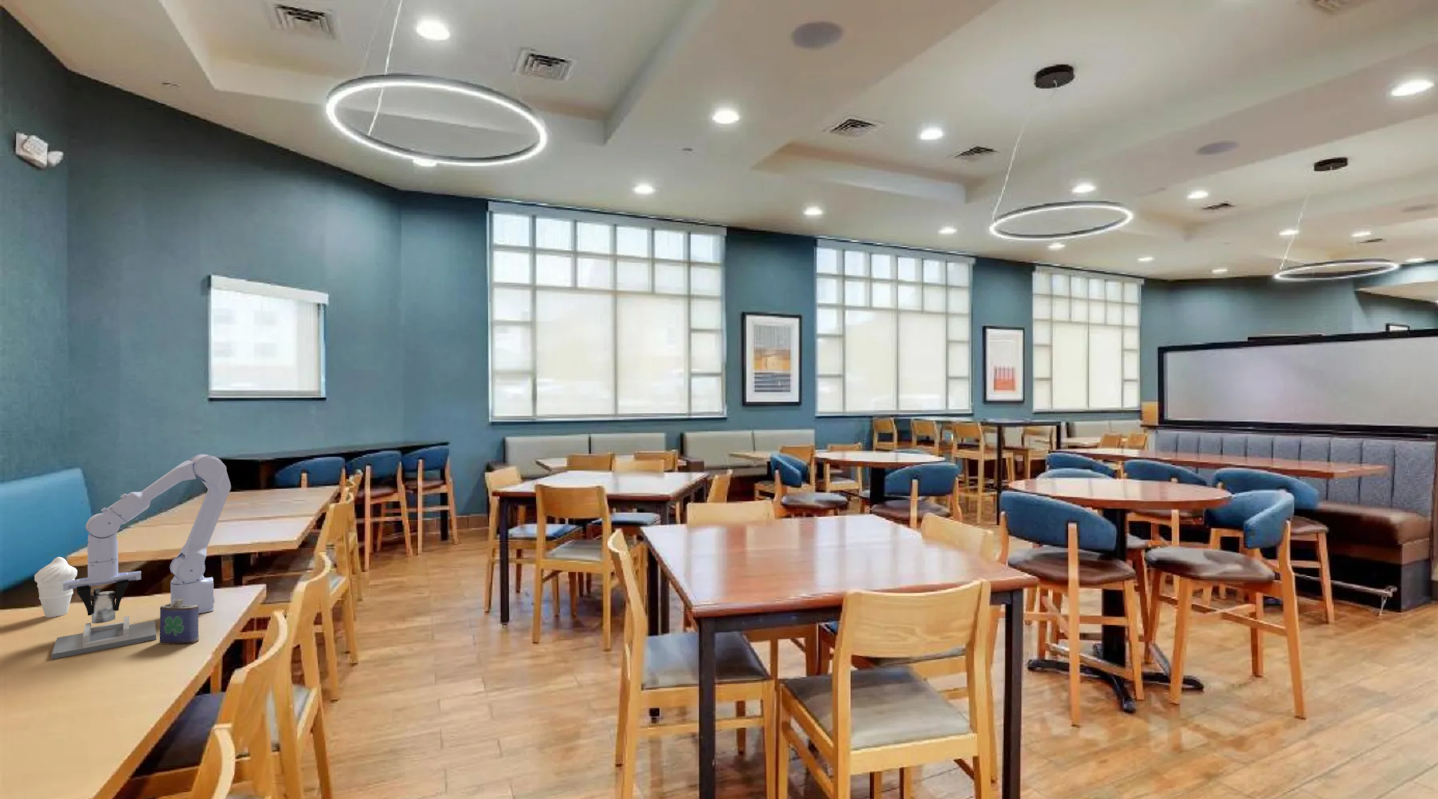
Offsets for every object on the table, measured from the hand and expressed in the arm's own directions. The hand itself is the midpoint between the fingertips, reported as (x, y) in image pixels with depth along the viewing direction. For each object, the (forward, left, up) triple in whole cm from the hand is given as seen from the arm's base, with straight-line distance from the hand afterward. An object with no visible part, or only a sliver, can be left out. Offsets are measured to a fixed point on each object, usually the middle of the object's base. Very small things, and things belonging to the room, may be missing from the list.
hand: (103, 612), depth 166 cm
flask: (-14, +25, -5) cm, 29 cm away
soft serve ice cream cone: (+10, -24, -5) cm, 26 cm away
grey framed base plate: (-1, +12, -4) cm, 13 cm away
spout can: (0, 0, -2) cm, 2 cm away
